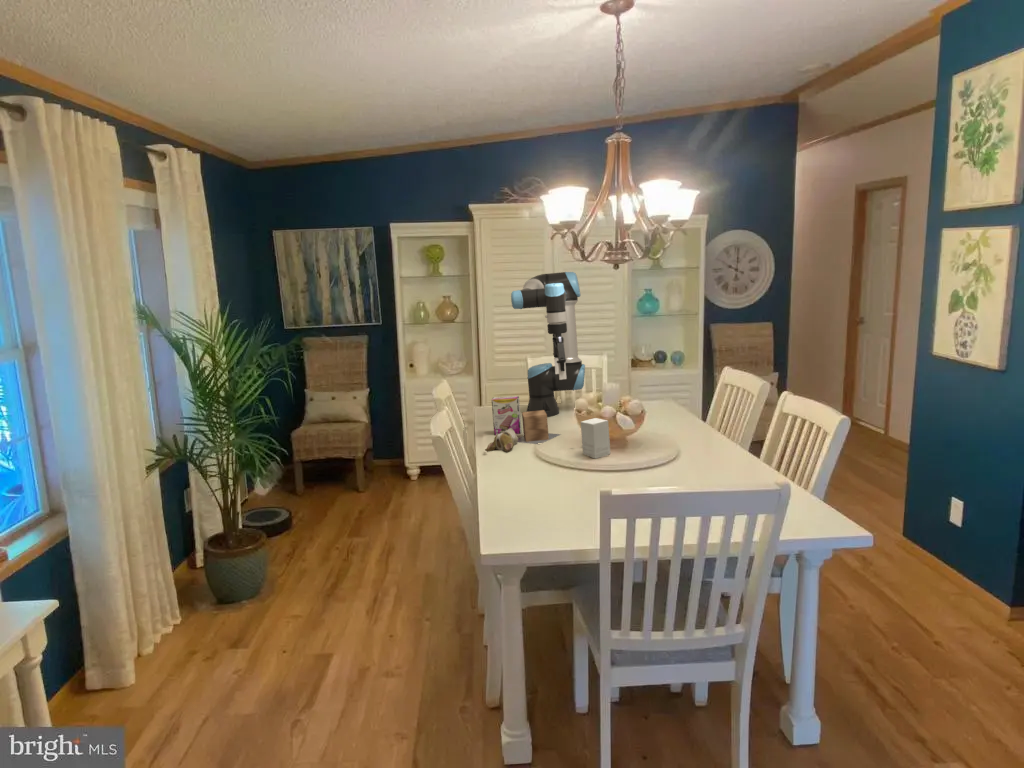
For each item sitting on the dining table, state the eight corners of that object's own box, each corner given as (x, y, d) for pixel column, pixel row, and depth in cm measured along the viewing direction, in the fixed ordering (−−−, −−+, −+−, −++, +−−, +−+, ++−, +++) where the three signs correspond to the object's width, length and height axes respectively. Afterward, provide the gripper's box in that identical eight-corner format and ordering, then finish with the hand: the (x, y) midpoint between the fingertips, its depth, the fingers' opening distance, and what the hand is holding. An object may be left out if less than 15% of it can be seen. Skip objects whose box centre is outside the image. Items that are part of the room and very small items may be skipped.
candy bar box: (494, 438, 287) (490, 399, 284) (495, 435, 292) (492, 397, 289) (521, 436, 286) (517, 397, 283) (522, 433, 291) (519, 395, 288)
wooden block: (545, 434, 282) (543, 410, 280) (548, 439, 273) (546, 414, 271) (523, 436, 281) (521, 412, 279) (526, 441, 272) (523, 416, 270)
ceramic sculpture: (523, 423, 269) (506, 435, 256) (525, 445, 271) (509, 458, 258) (498, 423, 274) (481, 435, 261) (501, 444, 276) (484, 457, 263)
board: (532, 434, 288) (532, 431, 287) (561, 437, 279) (561, 434, 279) (510, 444, 275) (510, 441, 275) (539, 447, 267) (539, 444, 266)
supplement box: (611, 454, 248) (609, 420, 246) (594, 459, 245) (592, 424, 243) (598, 451, 255) (596, 417, 253) (582, 455, 251) (579, 421, 249)
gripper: (544, 321, 284) (548, 372, 287) (550, 326, 259) (554, 382, 263) (562, 319, 284) (566, 370, 288) (570, 324, 259) (574, 380, 263)
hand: (560, 376), depth 275 cm, fingers open, 13 cm apart
